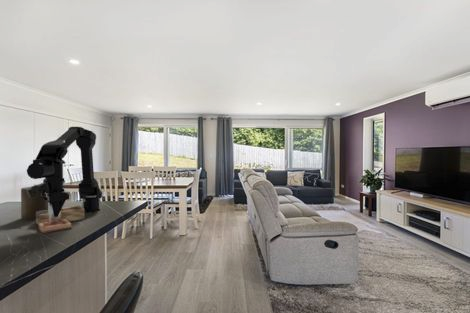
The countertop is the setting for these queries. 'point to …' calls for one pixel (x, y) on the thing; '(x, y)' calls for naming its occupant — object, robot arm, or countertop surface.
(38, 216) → the grey rectangular metal block
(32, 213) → the pillar candle
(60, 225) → the rack tray
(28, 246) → the countertop surface
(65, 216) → the socket block
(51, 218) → the grey tall cylinder
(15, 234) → the countertop surface
